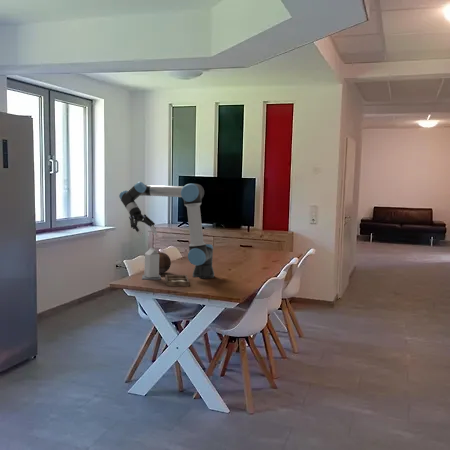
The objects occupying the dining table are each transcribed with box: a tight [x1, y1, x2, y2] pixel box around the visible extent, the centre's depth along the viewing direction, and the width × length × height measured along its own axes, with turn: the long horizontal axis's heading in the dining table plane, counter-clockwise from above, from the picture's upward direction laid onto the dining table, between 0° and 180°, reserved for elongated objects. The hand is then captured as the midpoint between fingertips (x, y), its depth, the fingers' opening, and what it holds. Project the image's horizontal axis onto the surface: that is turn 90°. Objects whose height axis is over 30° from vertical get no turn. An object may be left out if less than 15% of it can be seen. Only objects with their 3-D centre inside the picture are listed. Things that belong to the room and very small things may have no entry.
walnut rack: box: [164, 274, 190, 287], centre depth 302 cm, size 14×21×4 cm, turn 9°
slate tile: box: [141, 274, 162, 281], centre depth 314 cm, size 12×12×2 cm
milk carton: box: [143, 247, 160, 278], centre depth 314 cm, size 7×7×19 cm
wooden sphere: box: [157, 251, 172, 274], centre depth 337 cm, size 15×15×15 cm
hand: (148, 234), depth 316 cm, fingers open, 13 cm apart
